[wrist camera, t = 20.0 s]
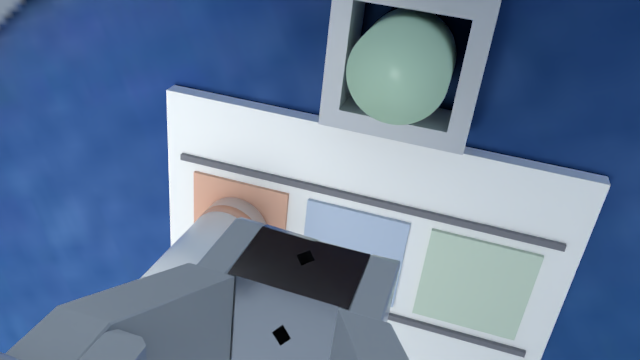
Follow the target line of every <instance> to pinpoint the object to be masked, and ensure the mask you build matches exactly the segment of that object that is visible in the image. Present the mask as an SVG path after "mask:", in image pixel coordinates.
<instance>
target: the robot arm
mask: <svg viewBox="0 0 640 360" xmlns="http://www.w3.org/2000/svg"><path fill="white" fill-rule="evenodd" d="M399 269H400V261H398V260H394V259H390V258H386V257H382V256H378V255H374V254H372V255H371V254H367V253H363V252H360V251H356V250H352V249H349V248H345V247H341V246H337V245H334V244H330V243H326V242H322V241H318V240H317V239H314V238H311V237H307V236H304V235H301V234H297V233H294V232H291V231H288V230H284V229H281V228H278V227H274V226H271V225H268V224H267V225H265V224H264V223H261V222H257V221H254V220H250V219H246V218H243V217H240V218H237V219H235V220H234V221H233V222H232V224H231V225H230V226H229V227H228V228H227V229H226V231H225V232H224V233H223V234H222V235H221V237H220V238H219V239H218V240H217V241H216V242H215V244H214V245H213V246H212V247H211V248H210V249H209V251H208V252H207V253H206V254H205V255H204V257H203V258H202V259H201V260H200V261H199V262H198V264H197V265H195V264H192V263H186V264H183V265H180V266H177V267H174V268H171V269H168V270H165V271H162V272H159V273H156V274H153V275H150V276H147V277H144V278H141V279H138V280H135V281H132V282H129V283H126V284H123V285H120V286H116V287H113V288H110V289H107V290H104V291H101V292H98V293H95V294H92V295H89V296H86V297H83V298H80V299H77V300H74V301H71V302H68V303H65V304H62V305H59V306H57V307H56V308H55V309H54V310H52V311H51V312H50V313H49V314H48V315H47V316H46V317H45V318H44V319H43V320H42V321H40V322H39V323H38V324H37V325H36V326H35V327H34V328H33V329H32V330H31V331H29V332H28V333H27V334H26V335H25V336H24V337H23V338H22V339H21V340H20V341H18V342H17V343H16V344H15V345H14V346H13V347H12V348H11V349H10V350H9V351H8V352H6V353H5V354H4V353H1V352H0V360H409V358H408V356H407V354H406V352H405V350H404V348H403V346H402V344H401V343H400V341H399V339H398V337H397V335H396V333H395V331H394V329H393V327H392V325H391V324H390V323H387V320H388V316H389V312H390V307H391V303H392V299H393V295H394V291H395V286H396V282H397V278H398V274H399Z"/></svg>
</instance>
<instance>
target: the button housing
mask: <svg viewBox="0 0 640 360" xmlns="http://www.w3.org/2000/svg"><path fill="white" fill-rule="evenodd" d="M501 1H502V0H332V4H331V13H330V22H329V31H328V40H327V49H326V59H325V68H324V77H323V86H322V95H321V104H320V113H319V123H318V124H320V125H325V126H330V127H334V128H339V129H344V130H348V131H353V132H358V133H362V134H367V135H372V136H376V137H381V138H385V139H390V140H395V141H399V142H404V143H409V144H413V145H418V146H423V147H427V148H432V149H437V150H441V151H446V152H451V153H455V154H460V155H463V153H464V149H465V145H466V141H467V137H468V133H469V129H470V125H471V121H472V117H473V113H474V109H475V105H476V101H477V97H478V93H479V89H480V85H481V81H482V77H483V73H484V69H485V65H486V61H487V57H488V53H489V49H490V45H491V41H492V37H493V33H494V29H495V25H496V21H497V17H498V13H499V9H500V5H501ZM366 2H369V3H375V4H381V5H387V6H392V7H398V8H404V9H410V10H416V11H422V12H428V13H434V14H440V15H446V16H452V17H458V18H464V19H470V20H473V22H472V26H471V30H470V35H469V39H468V44H467V48H466V52H465V57H464V61H463V65H462V70H461V74H460V78H459V83H458V87H457V91H456V96H455V100H454V104H453V109H452V110H447V109H442V108H437V109H436V110H435V111H434V112H433V113H432V114H431V115H429V116H428V117H426V118H425V119H423V120H421V121H418V122H415V123H412V124H407V125H392V124H387V123H383V122H380V121H378V120H376V119H374V118H372V117H370V116H369V115H367V114H366V113H365V112H364V111H363V110H362V109H360V107H359V106H358V105H357V104H356V102H355V101H354V99H353V98H352V96H351V93H350V91H349V88H348V85H347V80H346V67H347V61H348V58H349V55H350V53H351V51H352V49H353V47H354V46H355V44H356V43H357V42H358V41H359V39H360V38H361V32H362V25H363V18H364V10H365V3H366Z"/></svg>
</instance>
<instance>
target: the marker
mask: <svg viewBox="0 0 640 360" xmlns="http://www.w3.org/2000/svg"><path fill="white" fill-rule="evenodd" d="M240 217H243V218H246V219H250V220H254V221H257V222H261V223H264V224H265V225H267V224H266V222H265V220H264V218H263V216H262V215H261V213H260V212H259V211H258V210H257V209H256V208H255V207H254V206H253V205H252V204H250V203H248V202H247V201H245V200H242V199H239V198H235V197H225V198H221V199H219V200H217V201H215V202H214V203H213V204H212V205H211V206H210V207H209V208H208V209H207V210H206V211H205V212H204V213H203V214H202V215H201V216H200V217H199V218H198V219H197V220H196V221H195V223H194V224H193V225H192V226H191V227H190V228H189V229H188V230H187V231H186V232H185V233H184V234H183V235H182V236H181V237H180V238H179V239H178V240H177V241H176V242H175V243H174V244H173V245H172V246H171V247H170V248H169V249H168V250H167V251H166V252H165V253H164V254H163V255H162V256H161V258H160V259H159V260H158V261H157V262H156V263H155V264H154V265H153V266H152V267H151V268H150V269H149V270H148V271H147V272H146V273H145V274H144V275H143V276H142V277H141V278H144V277H147V276H150V275H153V274H156V273H159V272H162V271H165V270H168V269H171V268H174V267H177V266H180V265H183V264H186V263H192V264H195V265H197V264H198V262H199V261H200V260H201V259H202V258H203V257H204V255H205V254H206V253H207V252H208V251H209V249H210V248H211V247H212V246H213V245H214V244H215V242H216V241H217V240H218V239H219V238H220V237H221V235H222V234H223V233H224V232H225V231H226V229H227V228H228V227H229V226H230V225H231V224H232V222H233V221H234V220H235V219H237V218H240ZM141 278H140V279H141Z"/></svg>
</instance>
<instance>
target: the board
mask: <svg viewBox="0 0 640 360" xmlns="http://www.w3.org/2000/svg"><path fill="white" fill-rule="evenodd" d="M166 95H167V129H168V163H169V197H170V231H171V246H172V245H173V244H174V243H175V242H176V241H177V240H178V239H179V238H180V237H181V236H182V235H183V234H184V233H185V232H186V231H187V230H188V229H189V228H190V227H191V226H192V225H193V224H194V223H195V221H196V220H197V219H198V218H199V217H200V216H201V215H202V214H203V213H204V212H205V211H206V210H207V209H208V208H209V207H210V206H211V205H212V204H213V203H214V202H215V201H217V200H219V199H221V198H225V197H235V198H239V199H242V200H245V201H247V202H248V203H250V204H252V205H253V206H254V207H255V208H256V209H257V210H258V211H259V212H260V213H261V215H262V216H263V218H264V220H265V222H266V224H268V225H271V226H274V227H278V228H281V229H284V230H288V231H291V232H294V233H297V234H301V235H304V236H307V237H311V238H314V239H317V240H318V241H322V242H326V243H330V244H334V245H337V246H341V247H345V248H349V249H352V250H356V251H360V252H363V253H367V254H371V255H372V254H374V255H378V256H382V257H386V258H390V259H394V260H398V261H400V269H399V274H398V278H397V282H396V286H395V291H394V295H393V299H392V303H391V307H390V312H389V316H388V320H387V323H390V324H391V325H392V327H393V329H394V331H395V333H396V335H397V337H398V339H399V341H400V343H401V344H402V346H403V348H404V350H405V352H406V354H407V356H408V358H409V360H541V357H542V355H543V352H544V350H545V347H546V345H547V343H548V340H549V338H550V335H551V333H552V330H553V328H554V325H555V323H556V320H557V318H558V315H559V313H560V310H561V308H562V305H563V303H564V300H565V298H566V295H567V293H568V290H569V288H570V285H571V283H572V280H573V278H574V275H575V273H576V270H577V268H578V265H579V263H580V260H581V258H582V255H583V253H584V250H585V248H586V245H587V243H588V240H589V238H590V235H591V233H592V230H593V228H594V225H595V223H596V220H597V218H598V215H599V213H600V210H601V208H602V205H603V203H604V201H605V198H606V196H607V193H608V191H609V188H610V186H611V185H610V182H609V179H608V176H603V175H598V174H593V173H589V172H584V171H579V170H575V169H570V168H565V167H560V166H556V165H551V164H546V163H541V162H537V161H532V160H527V159H523V158H518V157H513V156H508V155H504V154H499V153H494V152H489V151H485V150H480V149H475V148H471V147H466V146H465V149H464V153H463V155H460V154H455V153H451V152H446V151H441V150H437V149H432V148H427V147H423V146H418V145H413V144H409V143H404V142H399V141H395V140H390V139H385V138H381V137H376V136H372V135H367V134H362V133H358V132H353V131H348V130H344V129H339V128H334V127H330V126H325V125H320V124H318V123H319V115H315V114H310V113H305V112H301V111H296V110H291V109H286V108H282V107H277V106H272V105H267V104H263V103H258V102H253V101H249V100H244V99H239V98H234V97H230V96H225V95H220V94H216V93H211V92H206V91H201V90H197V89H192V88H187V87H182V86H178V85H174V86H172V87H170V88H169V89H167V90H166Z"/></svg>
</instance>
